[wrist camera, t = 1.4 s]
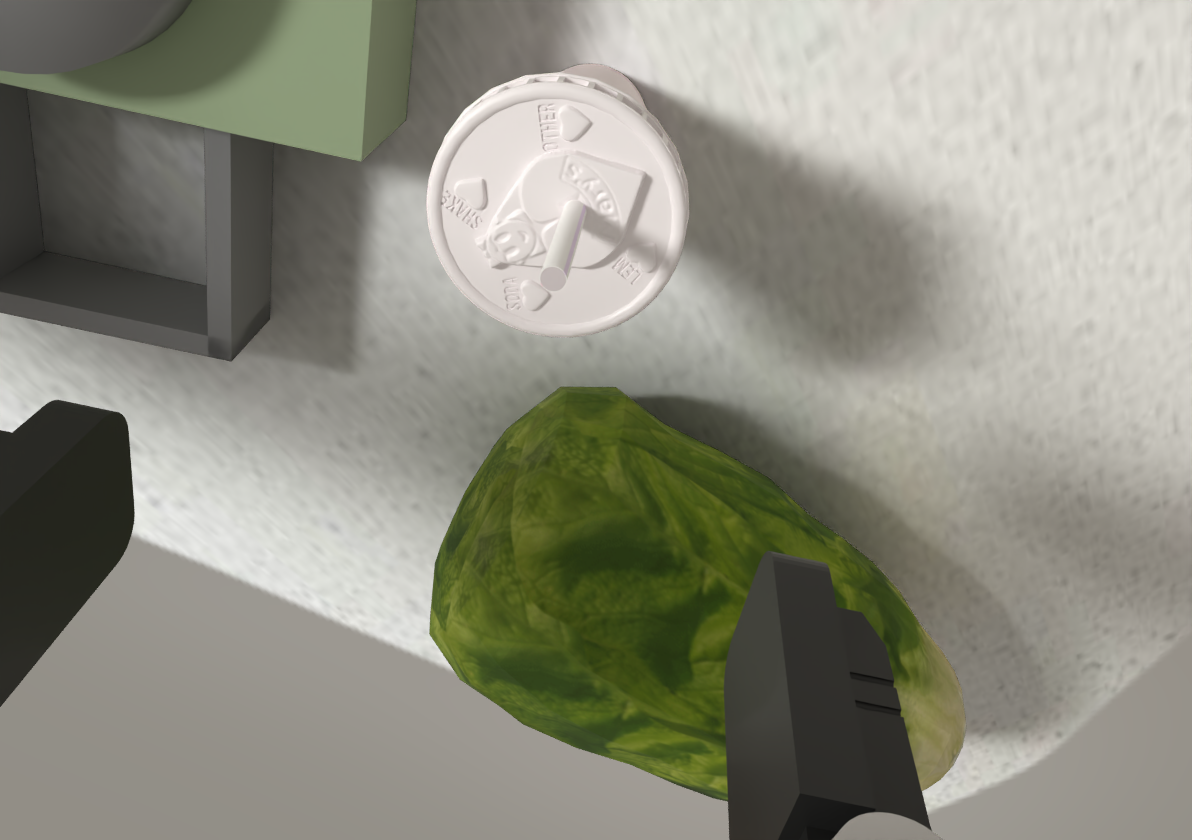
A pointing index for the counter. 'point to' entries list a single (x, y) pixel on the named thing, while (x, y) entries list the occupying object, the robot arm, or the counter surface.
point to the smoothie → (559, 202)
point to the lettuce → (644, 590)
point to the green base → (231, 140)
